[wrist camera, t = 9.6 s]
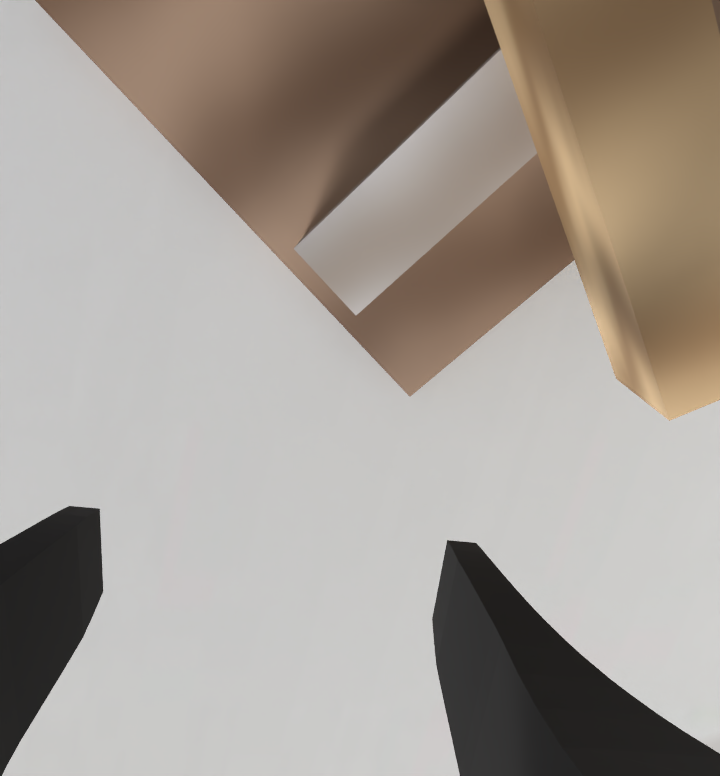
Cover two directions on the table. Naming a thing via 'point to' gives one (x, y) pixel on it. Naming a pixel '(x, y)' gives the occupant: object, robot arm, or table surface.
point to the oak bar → (632, 174)
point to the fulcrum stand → (352, 152)
